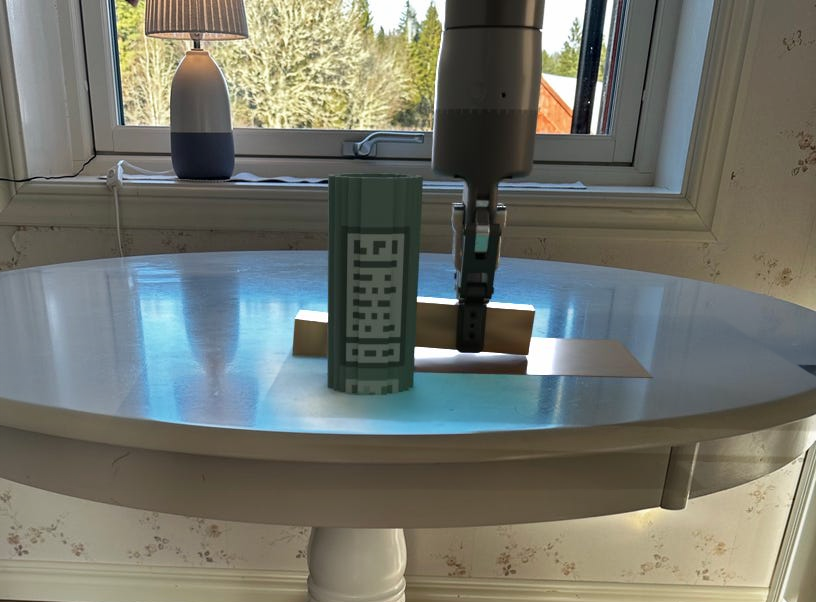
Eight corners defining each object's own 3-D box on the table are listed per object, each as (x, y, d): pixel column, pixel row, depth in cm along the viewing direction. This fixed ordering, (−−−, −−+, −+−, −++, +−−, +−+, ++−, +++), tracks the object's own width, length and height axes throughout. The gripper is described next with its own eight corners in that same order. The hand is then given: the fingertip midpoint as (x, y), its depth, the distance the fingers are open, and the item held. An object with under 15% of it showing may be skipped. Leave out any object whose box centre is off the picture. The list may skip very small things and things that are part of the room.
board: (616, 356, 84) (618, 339, 83) (650, 397, 72) (653, 377, 71) (389, 351, 85) (389, 334, 84) (384, 391, 73) (385, 371, 72)
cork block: (347, 315, 79) (299, 309, 79) (344, 324, 76) (294, 318, 76) (343, 363, 81) (296, 358, 81) (339, 374, 78) (291, 369, 78)
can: (407, 393, 72) (416, 173, 65) (415, 415, 67) (426, 178, 60) (326, 393, 72) (327, 172, 65) (328, 415, 67) (329, 177, 60)
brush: (522, 342, 81) (528, 299, 79) (532, 363, 74) (539, 316, 72) (346, 329, 82) (349, 286, 80) (340, 348, 75) (342, 302, 73)
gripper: (550, 104, 63) (523, 369, 71) (528, 106, 75) (507, 332, 84) (436, 102, 64) (422, 366, 72) (433, 105, 76) (421, 330, 84)
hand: (468, 347), depth 78 cm, fingers closed on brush, 2 cm apart
